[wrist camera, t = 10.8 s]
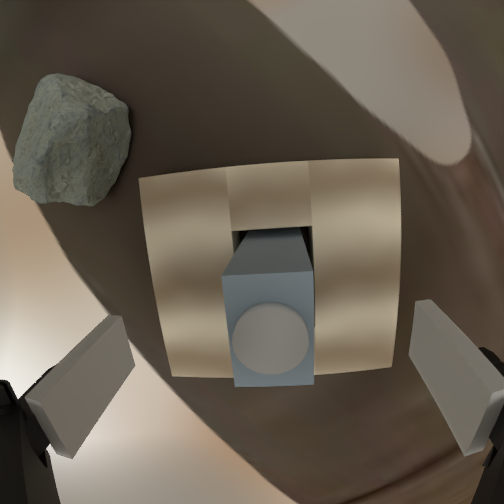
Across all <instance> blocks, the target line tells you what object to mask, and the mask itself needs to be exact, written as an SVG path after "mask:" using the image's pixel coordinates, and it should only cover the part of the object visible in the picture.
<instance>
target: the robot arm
mask: <svg viewBox="0 0 504 504" xmlns="http://www.w3.org/2000/svg"><path fill="white" fill-rule="evenodd" d="M409 357H410V358H411V360H412V362H413V363H414V365H415V367H416V368H417V370H418V372H419V373H420V375H421V377H422V379H423V380H424V382H425V384H426V386H427V387H428V389H429V391H430V393H431V394H432V396H433V398H434V400H435V401H436V403H437V405H438V407H439V409H440V411H441V412H442V414H443V416H444V418H445V420H446V422H447V423H448V425H449V427H450V429H451V431H452V433H453V435H454V437H455V439H456V441H457V443H458V445H459V447H460V448H461V450H462V452H463V454H464V456H467V455H470V454H473V453H476V452H479V451H482V450H483V449H484V447H485V445H486V443H487V441H488V439H489V438H490V440H491V441H492V443H493V447H492V449H491V451H490V453H489V454H488V456H487V458H486V460H485V461H484V463H483V465H482V466H485V465H486V466H485V468H484V471H483V474H482V477H481V480H480V482H479V485H478V487H477V490H476V493H475V495H474V497H473V500H472V502H471V504H504V363H503V362H501V361H500V359H499V358H498V357H497V356H496V355H495V354H494V353H493V352H492V351H490V350H488V349H486V348H484V347H481V348H477V347H476V346H475V345H474V344H473V343H472V341H471V340H470V339H469V338H468V337H467V336H466V335H465V334H464V333H463V332H462V331H461V330H460V329H459V328H458V327H457V326H456V325H455V324H454V323H453V321H452V320H451V319H450V318H449V317H448V316H447V315H446V314H445V313H444V312H443V311H442V310H441V309H440V308H439V307H438V306H437V305H436V304H435V303H434V302H433V301H432V300H431V299H430V300H422V301H415V311H414V319H413V327H412V335H411V342H410V349H409ZM134 367H135V363H134V359H133V356H132V353H131V349H130V345H129V342H128V338H127V334H126V331H125V327H124V323H123V319H122V316H109V315H108V316H107V317H106V318H105V319H104V320H103V321H102V322H101V323H100V324H99V325H98V326H96V327H95V328H94V329H93V330H92V331H91V332H90V333H89V334H88V335H87V336H86V337H85V338H84V339H83V340H82V341H81V342H80V343H79V344H78V345H76V346H75V347H74V348H73V349H72V350H71V351H70V352H69V353H68V354H67V355H66V356H65V357H64V358H63V359H62V360H61V361H60V362H59V363H58V364H56V365H55V366H53V367H51V368H50V369H48V370H47V371H46V372H45V373H44V374H43V375H42V377H40V378H39V379H38V380H37V381H36V383H34V384H33V385H32V386H31V387H30V388H29V389H28V390H27V391H26V392H25V393H24V394H23V395H22V396H21V397H20V398H19V399H17V397H16V395H15V393H14V391H13V389H12V387H11V385H10V383H9V382H8V381H7V380H0V504H61V503H60V500H59V496H58V492H57V488H56V483H55V479H54V475H53V470H52V465H51V460H50V455H49V453H48V451H47V450H46V448H47V447H48V445H49V444H51V446H52V447H53V448H54V450H55V452H56V453H57V454H58V455H61V456H64V457H67V458H71V459H73V457H74V456H75V454H76V452H77V451H78V450H79V448H80V447H81V445H82V444H83V442H84V441H85V439H86V437H87V436H88V434H89V433H90V431H91V430H92V428H93V427H94V425H95V424H96V422H97V421H98V419H99V418H100V416H101V415H102V413H103V412H104V410H105V409H106V407H107V406H108V404H109V403H110V402H111V400H112V398H113V397H114V396H115V394H116V393H117V391H118V390H119V388H120V387H121V385H122V384H123V382H124V381H125V379H126V378H127V377H128V375H129V374H130V372H131V371H132V369H133V368H134Z"/></svg>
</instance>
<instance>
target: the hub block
mask: <svg viewBox="0 0 504 504" xmlns="http://www.w3.org/2000/svg"><path fill="white" fill-rule="evenodd" d="M139 187H140V197H141V205H142V214H143V222H144V229H145V236H146V243H147V250H148V257H149V263H150V269H151V275H152V281H153V287H154V292H155V298H156V303H157V309H158V314H159V319H160V324H161V328H162V333H163V338H164V343H165V347H166V352H167V356H168V360H169V365H170V369H171V373H172V376H182V377H215V378H234V376H233V368H232V361H231V353H230V345H229V337H228V329H227V321H226V313H225V304H224V296H223V287H222V278H221V275H222V274H223V272H224V270H225V269H226V267H227V265H228V264H229V262H230V260H231V259H232V257H233V255H234V254H235V252H236V250H237V249H238V247H239V245H240V244H241V237H240V230H254V229H269V228H284V227H300V226H308V233H309V254H310V262H311V266H312V269H313V283H314V375H319V374H332V373H343V372H353V371H362V370H371V369H379V368H387V367H392V359H393V351H394V343H395V334H396V324H397V313H398V301H399V285H400V263H401V194H400V173H399V159H336V160H312V161H294V162H279V163H265V164H253V165H242V166H232V167H222V168H212V169H204V170H195V171H187V172H179V173H172V174H165V175H158V176H151V177H144V178H139Z"/></svg>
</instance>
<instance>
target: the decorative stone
mask: <svg viewBox="0 0 504 504" xmlns="http://www.w3.org/2000/svg"><path fill="white" fill-rule="evenodd" d="M32 99H33V100H32V101H31V103H30V104H29V106H28V112H27V114H26V116H25V118H24V123H23V125H22V130H21V133H20V136H19V138H18V141H17V143H16V146H15V156H14V158H13V160H12V161H13V162H14V166H13V175H14V178H13V181H14V187H15V189H16V190H19V191H21V192H23V193H25V194H26V195H28V196H30V198H31V199H32V200H34V201H36V202H38V203H39V204H42V203H50V202H55V201H56V202H58V203H60V202H67V203H71V204H74V205H78V206H80V205H86V206H94V205H96V204H97V203H98V202H99V201H101V200H102V199H104V198H105V197H106V195H107V193H108V192H109V190H110V188H111V186H112V185H113V184H114V183H115V182H116V180H117V177H118V175H119V173H120V169H121V167H122V165H123V164H124V162H125V159H126V158H127V157H128V150H129V143H130V139H131V129H130V125H129V120H128V113H129V109H128V107H127V105H126V104H125V103H124V102H122V101H120V100H118V99H117V98H116V97H115V96H114V95H113V94H112V93H109V92H107V91H106V90H103V89H102V88H100V87H99V86H96V85H93V84H90V83H87V82H86V81H84V80H81V79H79V78H77V77H74V76H67V75H64V74H61V73H56V74H49V75H47V76H45V77H44V78H42V79H41V80H40V81H39V83H38V84H37V88H36V90H35V95H34V97H33V98H32Z"/></svg>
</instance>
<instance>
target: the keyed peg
mask: <svg viewBox="0 0 504 504" xmlns="http://www.w3.org/2000/svg"><path fill="white" fill-rule="evenodd" d="M221 278H222V287H223V296H224V304H225V313H226V321H227V329H228V337H229V345H230V353H231V361H232V368H233V376H234V383H235V387H262V386H293V385H311V384H314V283H313V269H312V266H311V262H310V259H309V256H308V253H307V249H306V246H305V243H304V240H303V237H302V234H301V230H300V227H288V228H271V229H255V230H248V232H247V234H246V235H245V237H244V239H243V240H242V242H241V244H240V245H239V247H238V249H237V250H236V252H235V254H234V255H233V257H232V259H231V260H230V262H229V264H228V265H227V267H226V269H225V270H224V272H223V274H222V275H221Z"/></svg>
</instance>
